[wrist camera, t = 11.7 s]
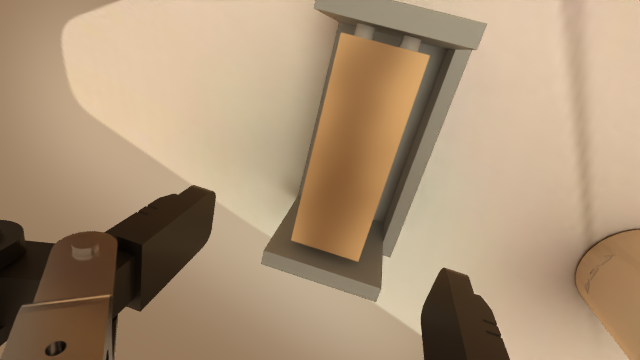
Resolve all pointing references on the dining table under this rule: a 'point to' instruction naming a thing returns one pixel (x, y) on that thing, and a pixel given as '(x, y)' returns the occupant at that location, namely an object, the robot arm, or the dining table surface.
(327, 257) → the grey rack
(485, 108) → the dining table surface
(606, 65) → the dining table surface
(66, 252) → the robot arm
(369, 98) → the shelf board
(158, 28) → the dining table surface
